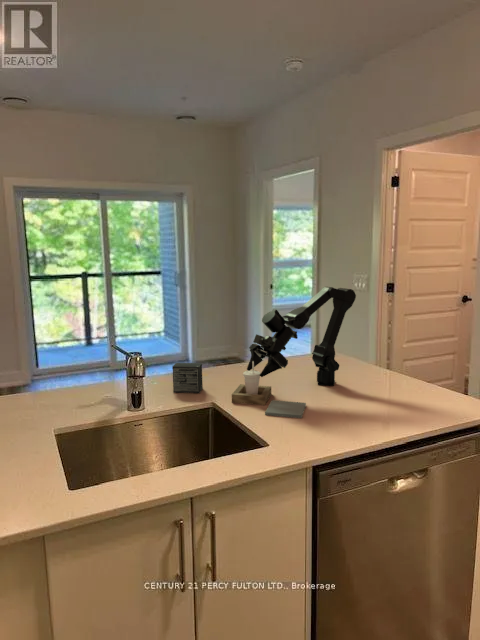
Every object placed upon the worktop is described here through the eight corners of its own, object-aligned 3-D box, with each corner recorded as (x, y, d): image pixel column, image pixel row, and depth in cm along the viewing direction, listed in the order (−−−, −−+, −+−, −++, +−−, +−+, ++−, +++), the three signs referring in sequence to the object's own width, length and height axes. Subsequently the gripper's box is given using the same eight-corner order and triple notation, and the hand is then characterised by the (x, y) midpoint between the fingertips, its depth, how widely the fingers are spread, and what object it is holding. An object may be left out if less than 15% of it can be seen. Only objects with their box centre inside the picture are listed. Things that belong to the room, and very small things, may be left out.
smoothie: (254, 402, 164) (253, 364, 162) (239, 398, 168) (239, 361, 165) (264, 397, 169) (264, 360, 167) (250, 394, 173) (249, 358, 170)
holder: (271, 394, 173) (271, 386, 172) (264, 405, 161) (264, 397, 161) (240, 391, 176) (240, 384, 175) (231, 402, 164) (231, 394, 164)
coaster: (305, 405, 161) (305, 402, 160) (301, 418, 149) (301, 415, 149) (272, 402, 164) (272, 400, 163) (265, 415, 152) (265, 412, 152)
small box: (203, 388, 181) (202, 362, 179) (200, 393, 174) (199, 366, 172) (176, 387, 182) (175, 361, 180) (172, 393, 175) (171, 366, 173)
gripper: (253, 322, 175) (228, 354, 172) (281, 330, 159) (253, 366, 156) (270, 340, 180) (246, 371, 177) (299, 350, 164) (273, 384, 161)
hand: (254, 373), depth 167 cm, fingers open, 9 cm apart
